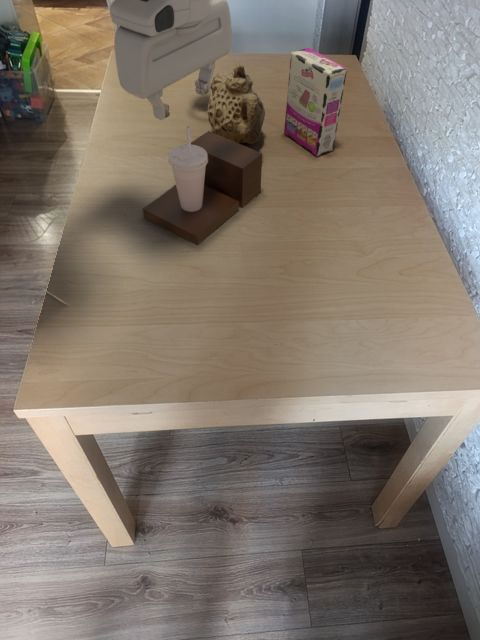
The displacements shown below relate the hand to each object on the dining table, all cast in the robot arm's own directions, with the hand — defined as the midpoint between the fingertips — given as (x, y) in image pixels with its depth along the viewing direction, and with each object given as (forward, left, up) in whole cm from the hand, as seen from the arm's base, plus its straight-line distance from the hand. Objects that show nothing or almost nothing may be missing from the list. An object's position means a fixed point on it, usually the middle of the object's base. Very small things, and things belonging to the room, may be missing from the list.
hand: (183, 104), depth 74 cm
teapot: (-8, +25, -20) cm, 33 cm away
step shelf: (0, +4, -20) cm, 20 cm away
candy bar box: (+4, +34, -20) cm, 40 cm away
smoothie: (0, 0, -18) cm, 18 cm away
